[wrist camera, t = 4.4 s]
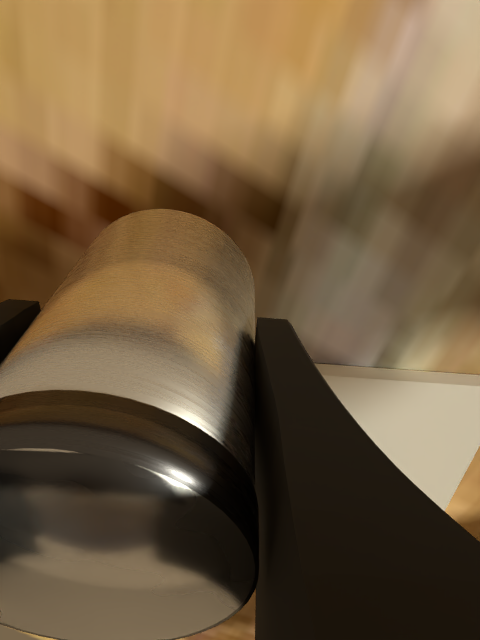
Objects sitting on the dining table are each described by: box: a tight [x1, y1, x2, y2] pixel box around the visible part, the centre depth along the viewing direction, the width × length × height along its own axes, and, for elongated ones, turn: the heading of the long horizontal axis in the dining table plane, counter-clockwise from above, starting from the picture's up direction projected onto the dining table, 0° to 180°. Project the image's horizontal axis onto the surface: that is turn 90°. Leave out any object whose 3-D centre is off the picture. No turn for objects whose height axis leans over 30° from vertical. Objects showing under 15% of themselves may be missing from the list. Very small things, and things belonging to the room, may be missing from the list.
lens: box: [0, 209, 259, 640], centre depth 9 cm, size 4×4×7 cm
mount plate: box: [314, 363, 480, 511], centre depth 23 cm, size 20×15×3 cm
